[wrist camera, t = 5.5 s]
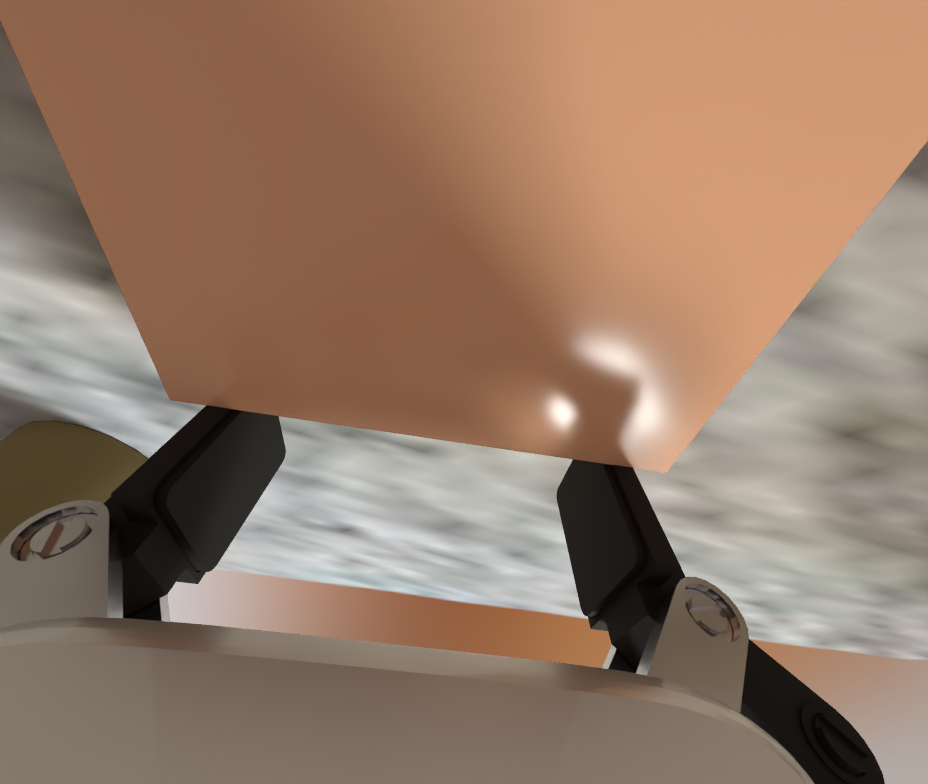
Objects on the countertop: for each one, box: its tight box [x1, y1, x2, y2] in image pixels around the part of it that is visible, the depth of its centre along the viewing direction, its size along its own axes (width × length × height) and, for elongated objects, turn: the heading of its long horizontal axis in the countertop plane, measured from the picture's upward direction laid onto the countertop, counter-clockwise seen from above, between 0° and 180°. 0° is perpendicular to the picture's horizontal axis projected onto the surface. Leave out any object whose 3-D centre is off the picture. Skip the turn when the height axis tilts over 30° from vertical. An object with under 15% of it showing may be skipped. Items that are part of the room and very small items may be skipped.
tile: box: [0, 0, 928, 473], centre depth 6 cm, size 12×10×4 cm
